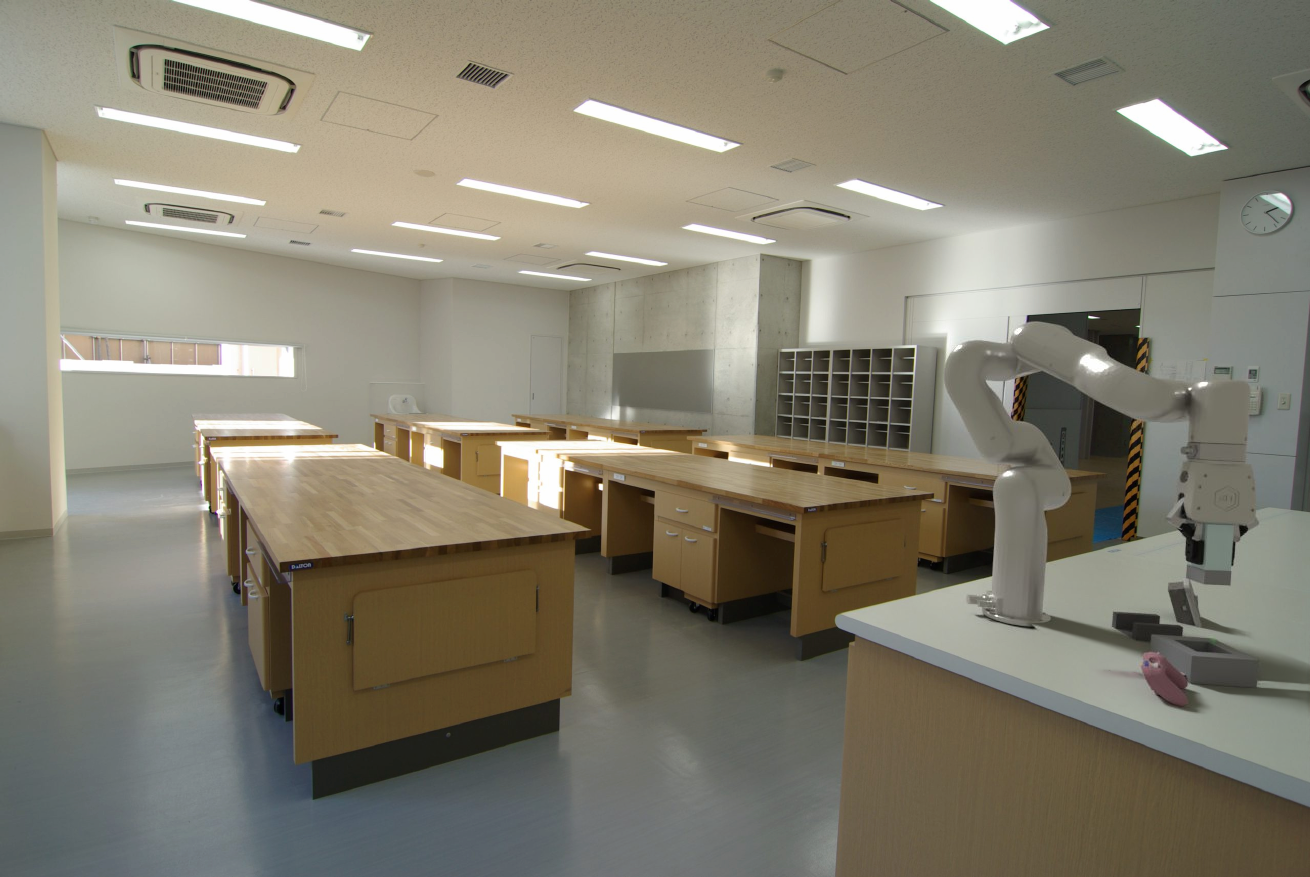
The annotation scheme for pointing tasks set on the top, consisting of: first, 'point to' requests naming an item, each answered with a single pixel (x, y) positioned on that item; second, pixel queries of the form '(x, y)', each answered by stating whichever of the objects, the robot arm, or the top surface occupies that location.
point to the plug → (1214, 556)
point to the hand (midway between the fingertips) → (1209, 562)
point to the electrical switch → (1184, 603)
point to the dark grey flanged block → (1143, 625)
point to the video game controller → (1164, 678)
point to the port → (1207, 660)
